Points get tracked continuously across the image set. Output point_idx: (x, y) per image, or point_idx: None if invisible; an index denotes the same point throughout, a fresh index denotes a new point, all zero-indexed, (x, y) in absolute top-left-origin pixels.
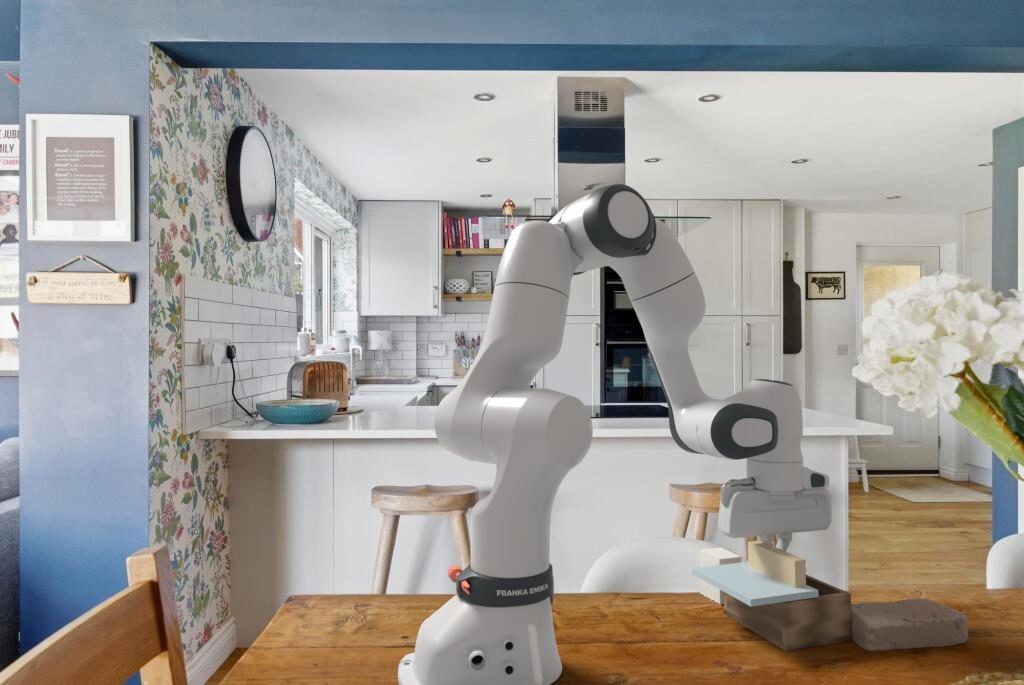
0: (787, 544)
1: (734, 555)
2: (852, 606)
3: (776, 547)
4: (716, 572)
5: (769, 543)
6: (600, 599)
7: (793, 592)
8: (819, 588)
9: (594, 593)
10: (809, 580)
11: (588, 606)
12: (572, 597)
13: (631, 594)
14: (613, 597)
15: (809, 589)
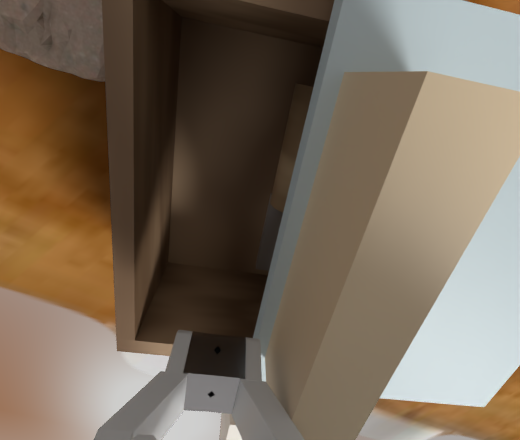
0: (147, 400)
1: (240, 436)
2: (67, 30)
3: (183, 407)
4: (471, 359)
5: (286, 430)
6: (455, 408)
7: (506, 29)
8: (143, 148)
9: (438, 426)
10: (137, 210)
11: (499, 396)
12: (481, 426)
13: (391, 406)
14: (429, 407)
15: (381, 17)
